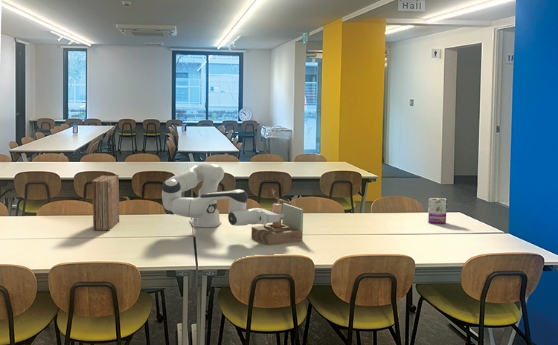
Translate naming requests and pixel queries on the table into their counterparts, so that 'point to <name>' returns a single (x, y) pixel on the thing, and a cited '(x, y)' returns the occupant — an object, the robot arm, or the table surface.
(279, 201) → the brown figurine
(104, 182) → the book
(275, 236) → the display plinth
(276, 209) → the light brown tall block
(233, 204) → the robot arm
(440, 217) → the candy bar box
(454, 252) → the table surface
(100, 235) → the table surface
